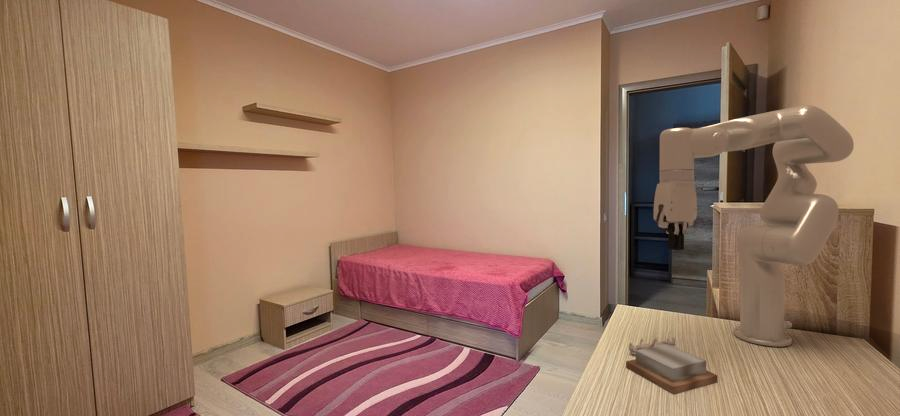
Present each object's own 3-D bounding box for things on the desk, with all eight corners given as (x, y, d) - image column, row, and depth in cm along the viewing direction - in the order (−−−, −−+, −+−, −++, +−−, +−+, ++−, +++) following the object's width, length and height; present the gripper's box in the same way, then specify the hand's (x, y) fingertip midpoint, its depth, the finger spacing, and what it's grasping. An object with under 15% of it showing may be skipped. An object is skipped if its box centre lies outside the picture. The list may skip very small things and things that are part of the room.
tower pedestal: (666, 357, 96) (666, 340, 96) (717, 381, 84) (717, 362, 84) (626, 367, 92) (625, 349, 92) (673, 394, 80) (673, 373, 79)
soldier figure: (681, 336, 97) (635, 331, 97) (685, 356, 95) (638, 352, 95) (664, 339, 104) (621, 335, 104) (667, 358, 102) (623, 354, 102)
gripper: (684, 177, 102) (684, 245, 103) (641, 178, 97) (641, 249, 98) (712, 176, 95) (711, 249, 96) (666, 177, 90) (666, 254, 91)
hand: (676, 249), depth 97 cm, fingers closed
